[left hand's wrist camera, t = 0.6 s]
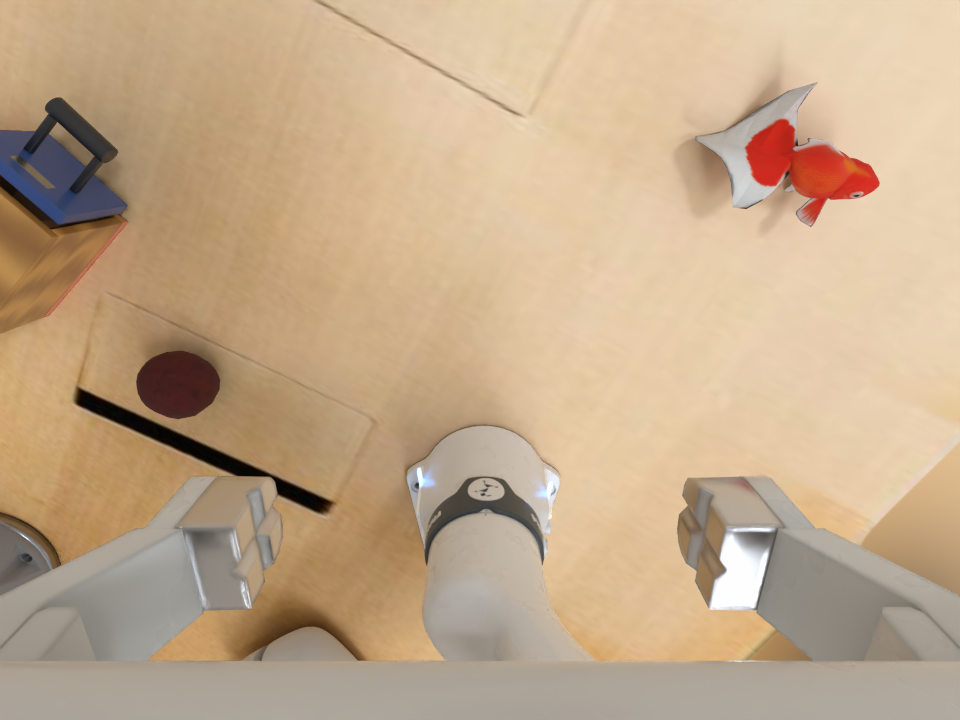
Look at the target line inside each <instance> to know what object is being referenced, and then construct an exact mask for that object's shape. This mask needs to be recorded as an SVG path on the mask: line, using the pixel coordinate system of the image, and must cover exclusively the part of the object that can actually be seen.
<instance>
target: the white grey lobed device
mask: <svg viewBox="0 0 960 720" xmlns="http://www.w3.org/2000/svg"><path fill="white" fill-rule="evenodd" d="M241 661H358V660H357V659H356V658H355V657H354V656H353V655H352V654H351V653H350V652H349V651H348V650H347V649H346V648H345V647H344V646H343V645H342V644H341V643H340V642H339V641H338V640H337V639H336V638H335V637H333V636H332V635H331V634H329V633H328V632H326V631H325V630H323V629H321V628H318V627H304V628H300V629H297V630H295V631H292V632H290V633H288V634H286V635H284V636H282V637H280V638H278V639H276V640H275V641H273V642H272V643H271V644H269V645H266V646H264V647H262V648H260V649H258V650H257V651H255V652H253V653H251V654H250V655H248V656H247V657H245V658H244V659H242V660H241Z"/></svg>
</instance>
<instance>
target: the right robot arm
mask: <svg viewBox="0 0 960 720" xmlns="http://www.w3.org/2000/svg"><path fill="white" fill-rule="evenodd" d="M59 566H60V562H59V559H58V557H57V554H56V553H55V551H54V549H53V548H52V546H51V545H50V544H49V542H48V541H47V540H46V539H45V538H44V537H43V536H42V535H41V534H40V533H38V532H37V531H36V530H34V529H33V528H32V527H30V526H28V525H27V524H25V523H23V522H21V521H19V520H17V519H15V518H12V517H10V516H7V515H3V514H0V596H1V595H3V594H5V593H7V592H9V591H11V590H13V589H15V588H17V587H19V586H21V585H23V584H25V583H27V582H29V581H31V580H33V579H35V578H37V577H39V576H41V575H43V574H45V573H47V572H49V571H51V570H53V569H55V568H57V567H59Z"/></svg>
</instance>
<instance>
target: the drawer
mask: <svg viewBox="0 0 960 720" xmlns="http://www.w3.org/2000/svg"><path fill="white" fill-rule="evenodd" d="M45 110H46V112H47V113H48V115H47V117H46V118H45V119H44V121H43V122H42V123H41V125H40V126H39V127H38V129H37V130H36V131H13V130H0V187H1V188H3V189H4V190H5V191H6V192H7V193H8V194H10V195H11V196H12V197H13V198H14V199H16V200H17V201H18V202H19V203H20V204H21V205H23V206H24V207H25V208H26V209H27V210H29V211H30V212H31V213H32V214H33V215H34V216H36V217H37V218H38V219H39V220H40V221H41V222H43V223H44V224H45V225H46V226H47V227H49V228H50V229H56V228H61V227H66V226H71V225H77V224H82V223H87V222H93V221H98V220H103V219H104V216H110V215H115V214H121V213H122V212H123V211H124V210H125V208H126V207H127V206H128V205H127V204H126V203H125V202H124V201H122V200H121V199H120V198H119V197H118V196H117V195H116V194H115V193H114V192H113V191H111V190H110V189H109V188H108V187H107V186H106V185H105V184H104V183H103V182H101V181H100V180H99V179H98V178H97V177H96V176H95V175H94V174H95V172H96V171H97V170H98V169H99V167H100V166H101V165H102V163H107V162H109V161H111V160H112V159H114V158H115V157H116V155H117V153H118V150H117V149H116V148H115V147H114V146H113V145H112V144H111V143H109V142H108V141H107V140H106V139H105V138H104V137H103V136H102V135H101V134H100V133H99V132H98V131H97V130H96V129H94V128H93V127H92V126H91V125H90V124H89V123H88V122H87V121H86V120H85V119H84V118H83V117H82V116H81V115H79V114H78V113H77V112H76V111H75V110H74V109H73V108H72V107H71V106H70V105H69V104H68V103H67V102H65V101H64V100H63V99H62V98H59V97H58V98H54V99H52V100H50V101H49V102H48V103H47V104H46V106H45ZM57 122H58V123H59V124H60V125H62V126H63V127H64V128H65V129H66V130H67V131H68V132H69V133H70V134H71V135H72V136H74V137H75V138H76V139H77V140H78V141H79V142H80V143H81V144H82V145H83V146H84V147H86V148H87V149H88V150H89V151H90V152H91V153H92V154H93V155H94V156H95V157H94V158H93V159H92V160H91V161H90V163H89V164H88V165H87V167H85V166H84V165H83V164H82V163H80V162H79V161H78V160H77V159H76V158H75V157H74V156H73V155H72V154H71V153H69V152H68V151H67V150H66V149H65V148H64V147H63V146H62V145H61V144H59V143H58V142H57V141H56V140H55V139H54V138H53V137H52V136H51V135H50V134H49V133H50V131H51V130H52V128H53V127H54V126H55V124H56V123H57Z"/></svg>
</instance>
